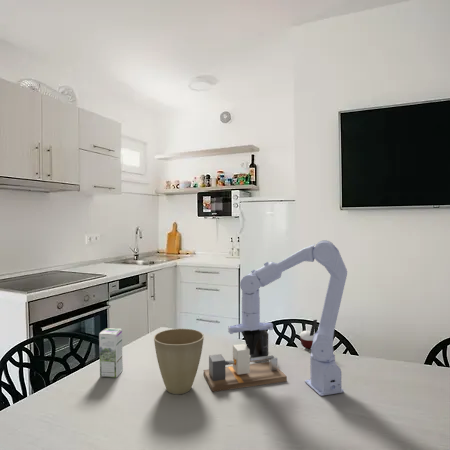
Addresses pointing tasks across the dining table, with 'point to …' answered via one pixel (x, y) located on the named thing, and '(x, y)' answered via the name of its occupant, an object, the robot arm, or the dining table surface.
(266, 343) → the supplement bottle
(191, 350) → the plant pot
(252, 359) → the rail
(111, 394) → the dining table surface
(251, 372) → the board
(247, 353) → the sleeve
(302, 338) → the cocoa
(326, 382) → the robot arm
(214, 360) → the block
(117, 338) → the syrup box
